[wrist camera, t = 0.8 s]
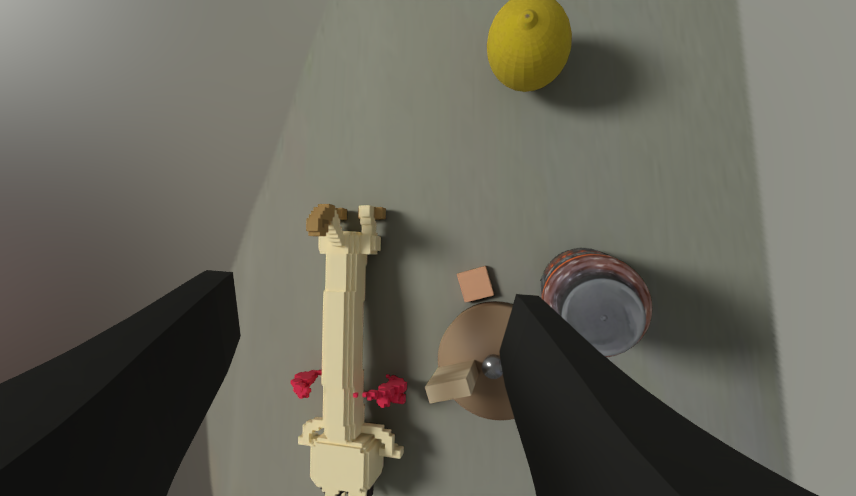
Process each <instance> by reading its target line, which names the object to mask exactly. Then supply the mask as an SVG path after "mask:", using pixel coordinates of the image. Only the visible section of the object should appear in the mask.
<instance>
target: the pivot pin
mask: <svg viewBox="0 0 856 496" xmlns="http://www.w3.org/2000/svg"><path fill="white" fill-rule="evenodd" d="M482 371H483V373H484V375H485V376H486V377H488V378H490V379H497V378H499V377H501V376H502V374H503V372H502V366H501V360H500V356H498V355H495V354H491V355H488V356H487V357H486V358H485V359H484V361H483V364H482Z"/></svg>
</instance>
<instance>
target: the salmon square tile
mask: <svg viewBox="0 0 856 496" xmlns="http://www.w3.org/2000/svg"><path fill="white" fill-rule="evenodd" d="M457 276H458V280H459V283H460V287H461V290H462V294H463V297H464V300H465V302H469V301H473V300H477V299H481V298H485V297H489V296H493V295H494V291H493V287H492V284H491V281H490V277H489V274H488V271H487V267H486V266H483V267H479V268H475V269H472V270H468V271H465V272H461V273H458V274H457Z"/></svg>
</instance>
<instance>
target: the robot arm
mask: <svg viewBox="0 0 856 496" xmlns="http://www.w3.org/2000/svg"><path fill="white" fill-rule="evenodd" d="M240 336H241V335H240V327H239V319H238V311H237V302H236V294H235V286H234V278H233V272H223V271H211V270H206V271H204V272H203V273H201V274H199V275H197V276H195V277H194V278H192V279H191V280H189V281H187V282H186V283H184V284H182V285H181V286H179V287H178V288H176V289H174V290H173V291H171V292H170V293H168V294H166V295H165V296H163V297H162V298H160V299H158V300H157V301H155V302H153V303H152V304H150V305H148V306H147V307H145V308H144V309H142V310H140V311H139V312H137V313H135V314H134V315H132V316H131V317H129V318H127V319H125V320H123V321H122V322H120V323H118V324H117V325H114V326H113V327H111V328H109V329H107V330H106V331H104V332H102V333H100V334H98V335H97V336H95V337H93V338H91V339H90V340H88V341H86V342H84V343H82V344H81V345H79V346H77V347H75V348H73V349H71V350H69V351H67V352H65V353H64V354H62V355H59V356H57V357H56V358H53V359H51V360H49V361H47V362H45V363H43V364H41V365H39V366H37V367H35V368H33V369H31V370H29V371H26V372H25V373H22V374H20V375H18V376H16V377H14V378H12V379H9V380H7V381H5V382H3V383H1V384H0V496H166V495H167V493H168V490H169V488H170V485H171V483H172V481H173V479H174V476H175V474H176V472H177V470H178V468H179V466H180V464H181V461H182V459H183V457H184V456H185V453H186V452H187V450H188V448H189V446H190V444H191V442H192V440H193V438H194V436H195V434H196V432H197V431H198V429H199V427H200V425H201V423H202V421H203V419H204V417H205V415H206V413H207V411H208V410H209V408H210V406H211V404H212V402H213V400H214V398H215V396H216V394H217V392H218V390H219V388H220V386H221V384H222V382H223V380H224V378H225V376H226V374H227V372H228V370H229V367H230V364H231V362H232V359H233V356H234V353H235V351H236V348H237V345H238V342H239V339H240ZM499 353H500V360H501V366H502V372H503V378H504V384H505V388H506V392H507V395H508V398H509V402H510V405H511V409H512V412H513V415H514V418H515V422H516V425H517V428H518V431H519V435H520V438H521V441H522V445H523V448H524V451H525V454H526V458H527V461H528V464H529V467H530V471H531V475H532V479H533V483H534V486H535V491H536V496H818V495H816V494H814V493H812V492H810V491H808V490H806V489H804V488H802V487H800V486H799V485H797V484H795V483H793V482H791V481H789V480H788V479H786V478H784V477H782V476H780V475H779V474H777V473H775V472H773V471H771V470H770V469H768V468H766V467H764V466H762V465H761V464H759V463H757V462H755V461H754V460H752V459H750V458H748V457H747V456H745V455H743V454H742V453H740V452H738V451H737V450H735V449H733V448H732V447H730V446H728V445H727V444H725V443H723V442H722V441H720V440H719V439H717V438H716V437H714V436H712V435H711V434H709V433H708V432H706V431H705V430H703V429H701V428H700V427H698V426H697V425H695V424H694V423H692V422H691V421H689V420H688V419H686V418H685V417H683V416H682V415H680V414H679V413H677V412H676V411H674V410H673V409H672V408H670V407H669V406H667V405H666V404H665V403H663V402H662V401H661V400H659V399H658V398H656V397H655V396H654V395H652V394H651V393H650V392H648V391H647V390H646V389H644V388H643V387H642V386H640V385H639V384H638V383H636V382H635V381H634V380H633V379H631V378H630V377H629V376H628V375H627V374H625V373H624V372H623V371H622V370H621V369H619V368H618V367H617V366H616V365H614V364H613V363H612V362H611V361H610V360H609V359H607V358H606V357H605V356H604V355H603V354H602V353H601V352H599V351H598V350H597V349H596V348H595V347H594V346H593V345H592V344H590V343H589V342H588V341H587V340H586V339H585V338H584V337H583V336H582V335H581V334H580V333H578V332H577V331H576V330H575V329H574V328H573V327H572V326H571V325H570V324H569V323H568V322H567V321H566V320H565V319H564V318H562V317H561V316H560V315H559V314H558V313H557V312H556V311H555V310H554V309H553V308H552V307H551V306H550V305H548V304H547V303H546V302H545V301H544V300H543V299H542V298H540V297H539V296H533V295H520V294H516V297H515V300H514V304H513V307H512V310H511V314H510V317H509V320H508V324H507V327H506V330H505V334H504V337H503V340H502V344H501V347H500V351H499Z"/></svg>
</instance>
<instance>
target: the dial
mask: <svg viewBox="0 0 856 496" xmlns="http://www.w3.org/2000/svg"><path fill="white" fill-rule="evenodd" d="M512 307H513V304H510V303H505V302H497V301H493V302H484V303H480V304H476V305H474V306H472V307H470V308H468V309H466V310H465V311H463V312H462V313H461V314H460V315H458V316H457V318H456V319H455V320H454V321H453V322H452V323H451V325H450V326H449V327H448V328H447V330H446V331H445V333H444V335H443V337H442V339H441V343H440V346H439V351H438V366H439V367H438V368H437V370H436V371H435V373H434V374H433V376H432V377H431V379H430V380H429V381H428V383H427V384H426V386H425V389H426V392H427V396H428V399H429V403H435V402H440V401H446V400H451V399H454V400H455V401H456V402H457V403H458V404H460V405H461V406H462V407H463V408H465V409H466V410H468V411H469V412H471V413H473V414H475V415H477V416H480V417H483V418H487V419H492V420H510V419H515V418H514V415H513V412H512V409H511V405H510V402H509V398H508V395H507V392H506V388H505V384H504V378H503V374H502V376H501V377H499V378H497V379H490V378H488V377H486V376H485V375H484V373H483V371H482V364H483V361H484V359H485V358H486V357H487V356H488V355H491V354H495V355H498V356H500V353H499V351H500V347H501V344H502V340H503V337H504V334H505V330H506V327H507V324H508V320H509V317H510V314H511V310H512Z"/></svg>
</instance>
